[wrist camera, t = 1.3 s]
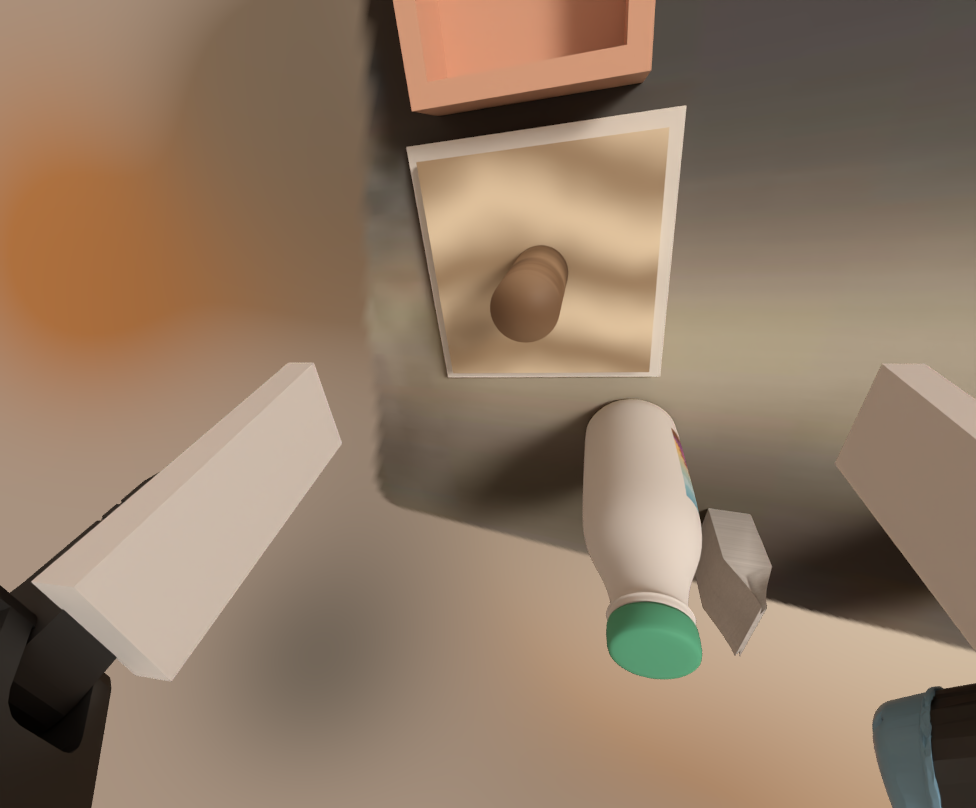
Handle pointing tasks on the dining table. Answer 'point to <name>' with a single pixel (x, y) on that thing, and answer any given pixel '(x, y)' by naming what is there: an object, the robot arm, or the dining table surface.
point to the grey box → (733, 575)
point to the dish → (519, 49)
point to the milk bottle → (643, 537)
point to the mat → (557, 134)
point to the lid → (549, 253)
